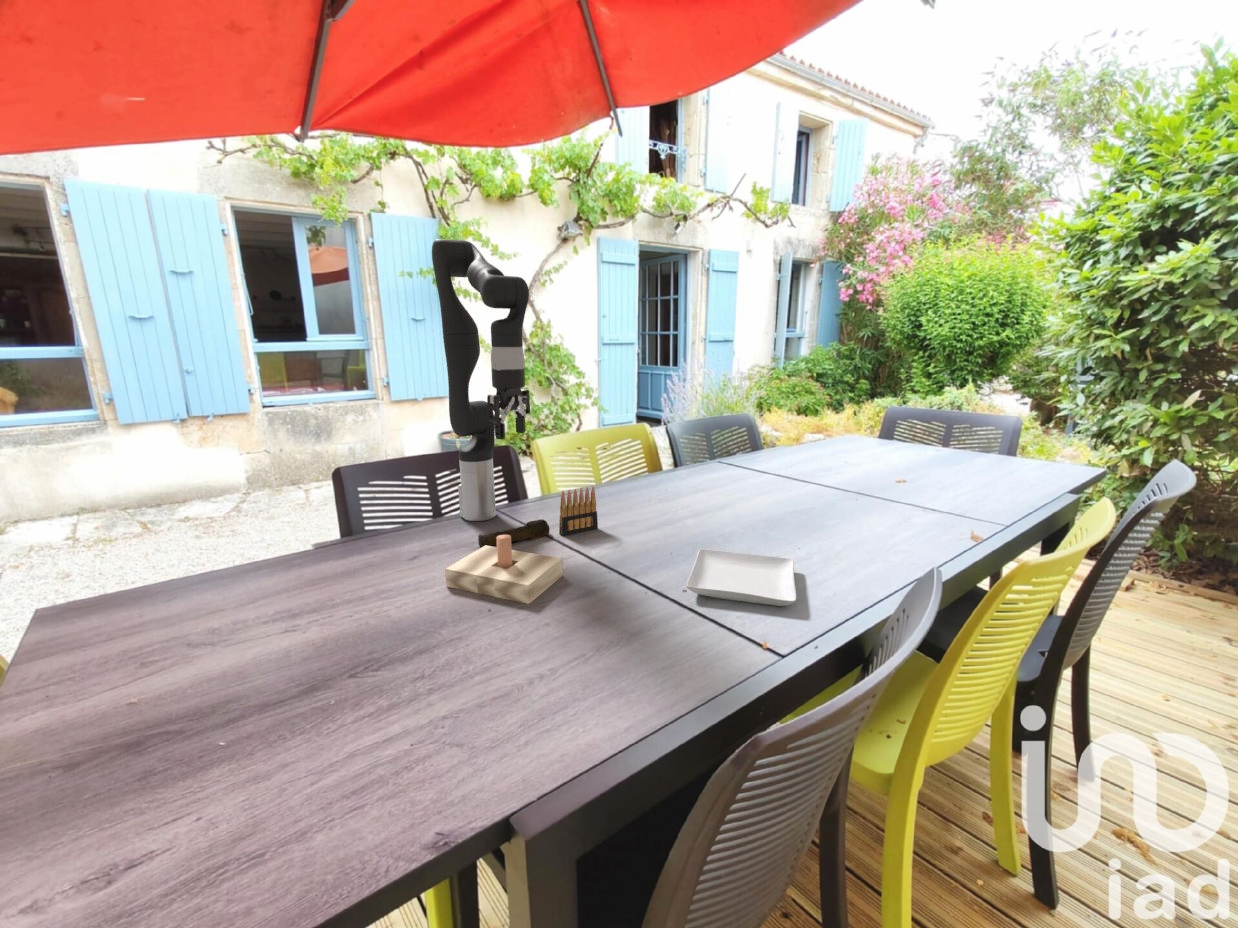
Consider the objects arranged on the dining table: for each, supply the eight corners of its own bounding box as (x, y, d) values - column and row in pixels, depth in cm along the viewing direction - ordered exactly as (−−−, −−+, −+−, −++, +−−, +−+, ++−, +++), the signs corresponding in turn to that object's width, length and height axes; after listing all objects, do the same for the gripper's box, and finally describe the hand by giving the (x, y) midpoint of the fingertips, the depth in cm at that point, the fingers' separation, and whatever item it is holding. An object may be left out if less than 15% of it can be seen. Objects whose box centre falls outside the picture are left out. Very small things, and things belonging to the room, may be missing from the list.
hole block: (446, 586, 114) (445, 568, 113) (486, 561, 127) (485, 545, 126) (528, 604, 107) (528, 585, 106) (562, 575, 120) (562, 558, 119)
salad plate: (792, 570, 123) (793, 556, 122) (795, 616, 103) (797, 599, 102) (698, 560, 129) (699, 546, 128) (684, 602, 109) (684, 586, 108)
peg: (496, 582, 116) (493, 538, 114) (504, 577, 119) (501, 533, 116) (508, 585, 115) (505, 540, 113) (515, 579, 118) (513, 535, 115)
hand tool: (483, 553, 132) (482, 535, 131) (477, 547, 136) (476, 530, 134) (553, 538, 142) (553, 521, 141) (547, 533, 146) (546, 516, 145)
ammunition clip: (594, 527, 150) (594, 484, 147) (598, 529, 148) (597, 486, 145) (559, 534, 144) (558, 490, 142) (562, 536, 143) (561, 492, 140)
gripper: (511, 364, 134) (514, 429, 138) (475, 368, 121) (479, 439, 125) (538, 365, 131) (539, 432, 135) (504, 369, 118) (507, 442, 122)
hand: (510, 435), depth 130 cm, fingers open, 8 cm apart
